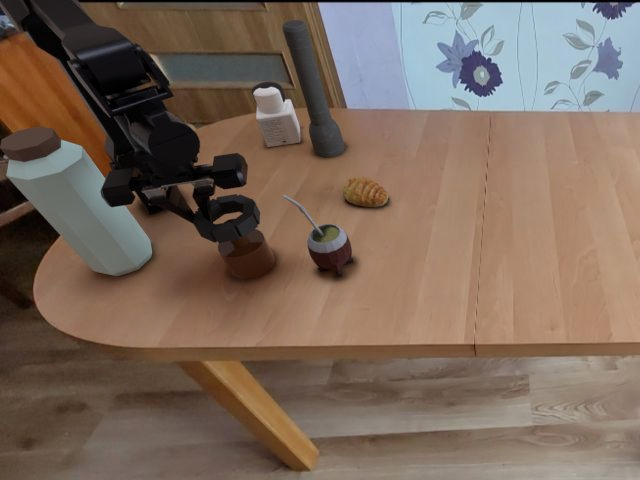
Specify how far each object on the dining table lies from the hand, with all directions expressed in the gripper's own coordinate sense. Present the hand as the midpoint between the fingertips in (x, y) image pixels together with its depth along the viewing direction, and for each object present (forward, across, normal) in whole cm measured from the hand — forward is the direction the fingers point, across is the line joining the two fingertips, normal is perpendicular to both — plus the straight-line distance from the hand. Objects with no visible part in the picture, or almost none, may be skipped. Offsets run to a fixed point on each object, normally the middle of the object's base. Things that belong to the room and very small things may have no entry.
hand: (203, 221), depth 76 cm
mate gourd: (+11, -18, +5) cm, 22 cm away
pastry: (+11, -26, -14) cm, 32 cm away
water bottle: (+11, +18, -8) cm, 23 cm away
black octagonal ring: (+1, -4, 0) cm, 4 cm away
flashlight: (+11, -20, -35) cm, 42 cm away
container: (+11, -10, -44) cm, 46 cm away
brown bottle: (+11, -4, 0) cm, 12 cm away
